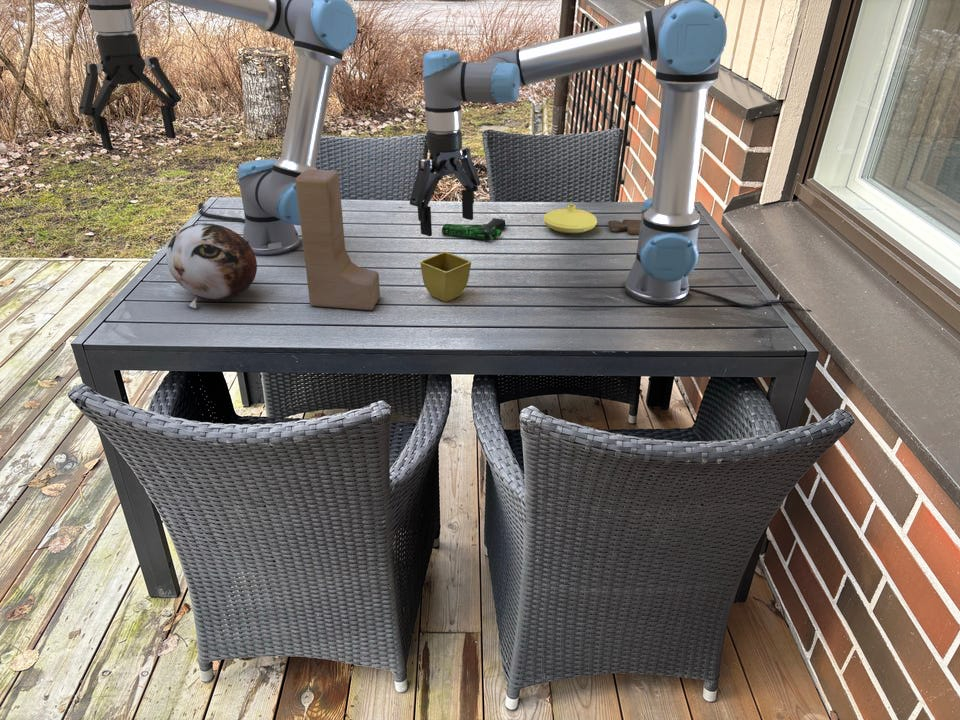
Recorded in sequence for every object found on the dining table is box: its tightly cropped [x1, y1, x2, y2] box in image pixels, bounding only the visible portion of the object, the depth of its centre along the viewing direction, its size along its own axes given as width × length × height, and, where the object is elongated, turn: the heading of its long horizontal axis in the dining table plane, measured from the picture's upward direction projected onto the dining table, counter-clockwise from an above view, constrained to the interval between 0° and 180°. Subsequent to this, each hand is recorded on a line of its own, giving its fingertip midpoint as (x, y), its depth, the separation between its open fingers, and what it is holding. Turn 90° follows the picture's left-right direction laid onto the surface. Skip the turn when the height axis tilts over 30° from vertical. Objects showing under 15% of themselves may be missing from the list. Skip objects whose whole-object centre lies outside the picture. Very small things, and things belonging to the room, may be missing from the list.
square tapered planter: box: [419, 251, 472, 303], centre depth 169 cm, size 9×9×9 cm
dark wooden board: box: [607, 219, 641, 235], centre depth 211 cm, size 26×2×10 cm
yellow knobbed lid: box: [543, 203, 598, 234], centre depth 209 cm, size 16×16×7 cm
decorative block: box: [295, 169, 381, 311], centre depth 159 cm, size 8×15×30 cm, turn 82°
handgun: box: [441, 217, 506, 242], centre depth 207 cm, size 16×3×15 cm
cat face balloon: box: [165, 222, 258, 309], centre depth 165 cm, size 22×18×20 cm
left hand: (140, 143), depth 150 cm, fingers open, 13 cm apart
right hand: (447, 226), depth 162 cm, fingers open, 13 cm apart
